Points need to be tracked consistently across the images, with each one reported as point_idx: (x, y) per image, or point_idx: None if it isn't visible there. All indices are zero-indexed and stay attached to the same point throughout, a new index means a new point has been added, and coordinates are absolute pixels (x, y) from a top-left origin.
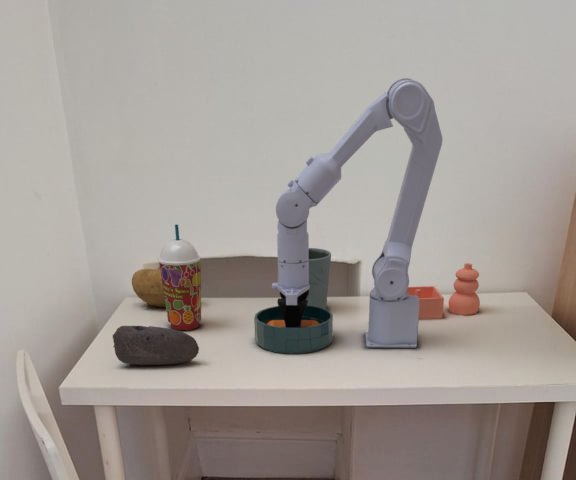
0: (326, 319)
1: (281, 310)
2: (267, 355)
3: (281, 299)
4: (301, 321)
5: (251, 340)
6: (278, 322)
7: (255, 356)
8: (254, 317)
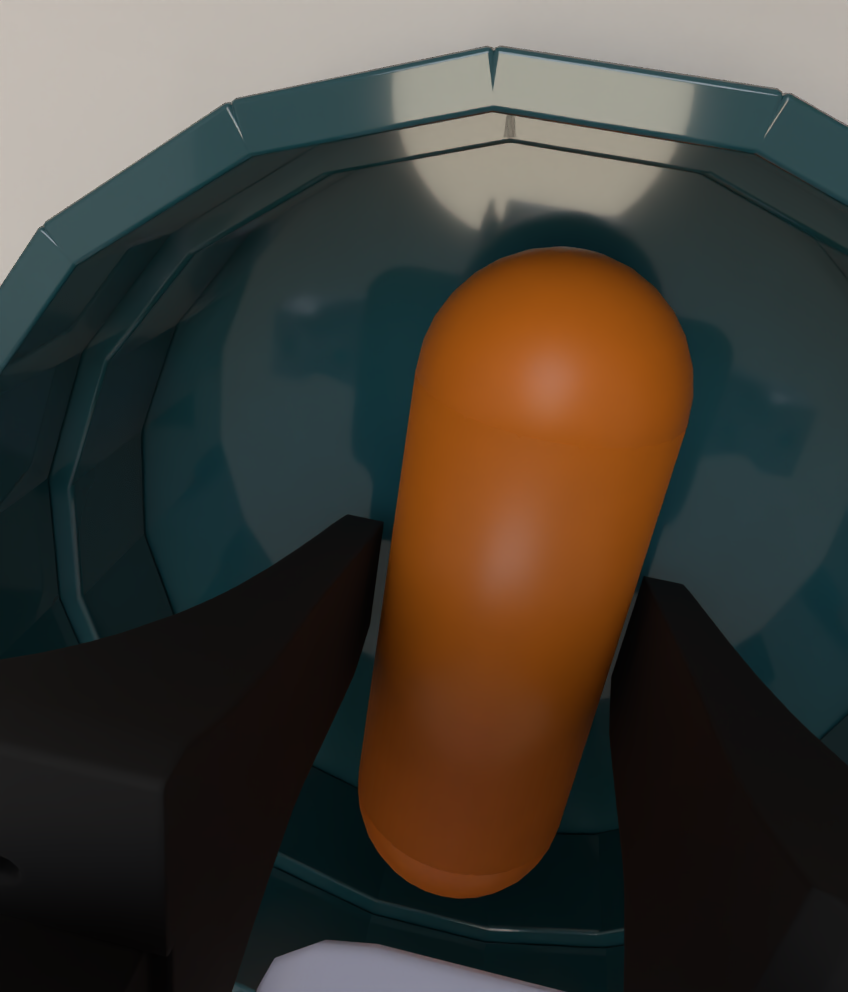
0: (609, 975)
1: (62, 655)
2: (71, 201)
3: (79, 833)
4: (435, 765)
5: (663, 6)
6: (471, 489)
7: (25, 41)
8: (509, 52)
